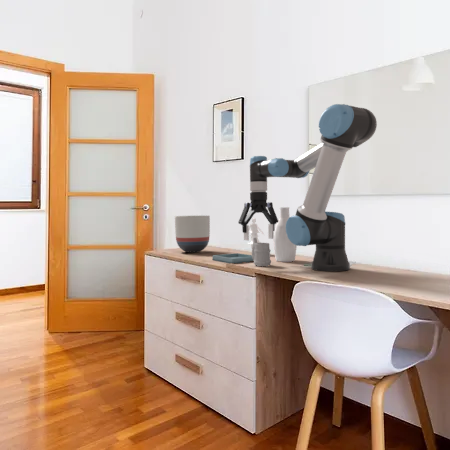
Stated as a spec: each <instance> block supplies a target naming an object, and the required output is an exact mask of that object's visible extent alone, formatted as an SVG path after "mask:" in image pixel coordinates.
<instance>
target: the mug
mask: <svg viewBox="0 0 450 450" xmlns="http://www.w3.org/2000/svg"><path fill="white" fill-rule="evenodd" d="M251 255H252V258H253V261H254V262H253V265H257V266H256V267H258V266H262V267H263V266H266V267H269V266H268V265H270V266H271V264H272V260H271V249H270V243H269V242H261V243H257V239H256V238H254V241H253V247H252V248H251Z"/></svg>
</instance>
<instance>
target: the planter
mask: <svg viewBox="0 0 450 450" xmlns="http://www.w3.org/2000/svg"><path fill="white" fill-rule="evenodd" d="M210 220H211V219H210V215H206V214H205V215H203V214H201V215H175V216H174V229H175V232H174V234H175V240H176V244H177V246H178V247H179V248H180V250H182V251H184V252H185V253H191V252H193V253H200V252H202V251H203V250H205V249H206V248H207V246H208V245H209V242H210V236H211V235H210V234H211V229H210V228H211V227H210V225H211V224H210V223H211V222H210Z"/></svg>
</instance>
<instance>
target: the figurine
mask: <svg viewBox="0 0 450 450" xmlns="http://www.w3.org/2000/svg"><path fill="white" fill-rule="evenodd" d="M251 220H252V221H251V223H250V225H249V233H250V239H251V241H250V242H247V243H246V244H249V245H250V246H251V249H252V247H253V241H254V238H256V239H257V243H262V242H261V241H260V240H259V239H258V237H259V235H258V233H261V234H262V235H263V236H265V234H264V232H263V231H262V229H261V228H260V227H259V226H258V224H257V223H256V218H255V217H252V218H251Z"/></svg>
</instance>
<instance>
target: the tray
mask: <svg viewBox="0 0 450 450" xmlns="http://www.w3.org/2000/svg"><path fill="white" fill-rule="evenodd" d="M212 261H216V262H219V263H226V264H230V263H237V264H243V263H242V262H246V263H251V262H250V261H253V258H252V254H245V253H239V252H238V253H237V252H236V253H226V254H224V253H223V254H215V255H214V254H213V255H212Z"/></svg>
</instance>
